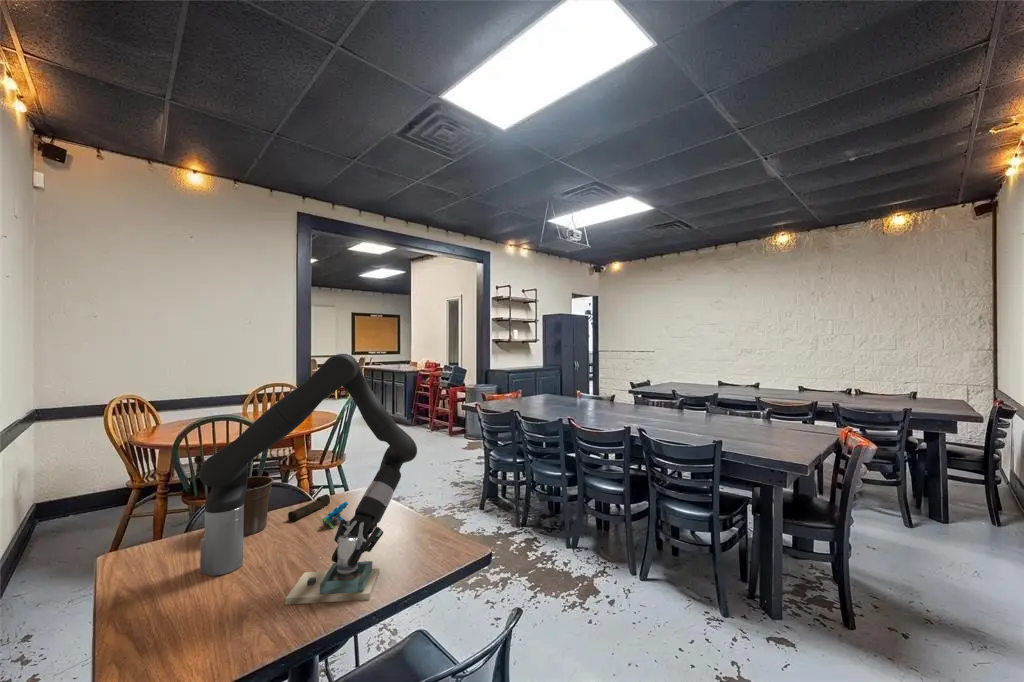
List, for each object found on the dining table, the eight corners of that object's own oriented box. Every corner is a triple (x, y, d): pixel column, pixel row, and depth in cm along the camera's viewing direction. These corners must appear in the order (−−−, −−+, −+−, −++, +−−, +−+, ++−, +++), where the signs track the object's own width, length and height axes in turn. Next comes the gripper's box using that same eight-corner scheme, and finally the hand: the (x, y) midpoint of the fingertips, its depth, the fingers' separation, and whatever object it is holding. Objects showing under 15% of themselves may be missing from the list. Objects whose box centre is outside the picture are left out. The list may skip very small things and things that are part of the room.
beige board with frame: (285, 604, 102) (285, 588, 102) (304, 577, 114) (304, 563, 114) (369, 599, 104) (369, 583, 104) (379, 573, 116) (379, 559, 116)
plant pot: (241, 543, 134) (242, 493, 134) (205, 536, 139) (206, 488, 139) (283, 523, 149) (284, 478, 150) (249, 518, 154) (250, 474, 155)
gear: (338, 511, 157) (350, 495, 153) (347, 523, 156) (360, 508, 152) (313, 526, 147) (327, 510, 143) (324, 540, 146) (337, 524, 142)
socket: (334, 582, 107) (334, 543, 107) (340, 571, 112) (340, 534, 112) (355, 581, 107) (355, 542, 107) (360, 570, 112) (360, 533, 113)
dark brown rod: (295, 523, 150) (295, 510, 150) (287, 521, 152) (287, 508, 152) (334, 505, 168) (335, 493, 168) (327, 504, 170) (327, 492, 170)
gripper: (349, 491, 120) (313, 552, 108) (388, 499, 114) (355, 564, 103) (362, 504, 124) (329, 563, 113) (401, 511, 119) (370, 575, 107)
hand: (342, 563), depth 108 cm, fingers closed on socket, 5 cm apart
